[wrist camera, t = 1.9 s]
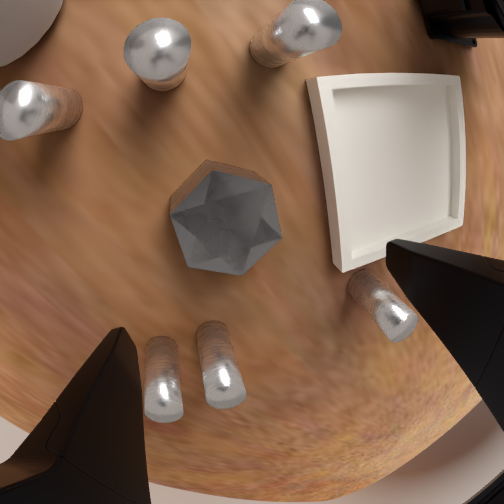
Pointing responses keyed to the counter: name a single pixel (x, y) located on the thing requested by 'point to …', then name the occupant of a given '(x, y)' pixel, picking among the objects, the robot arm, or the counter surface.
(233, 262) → the grey faceted icosahedron
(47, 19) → the can
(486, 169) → the counter surface
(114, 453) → the robot arm
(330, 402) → the counter surface
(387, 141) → the tray
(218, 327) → the spacer posts
